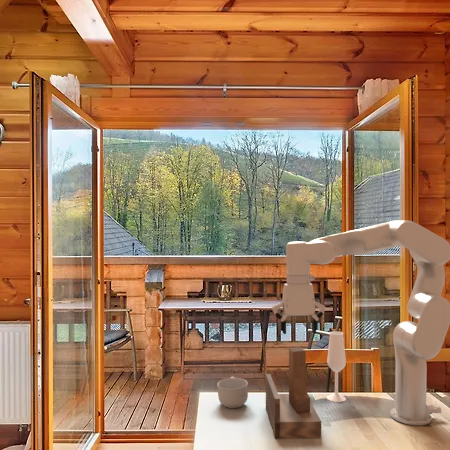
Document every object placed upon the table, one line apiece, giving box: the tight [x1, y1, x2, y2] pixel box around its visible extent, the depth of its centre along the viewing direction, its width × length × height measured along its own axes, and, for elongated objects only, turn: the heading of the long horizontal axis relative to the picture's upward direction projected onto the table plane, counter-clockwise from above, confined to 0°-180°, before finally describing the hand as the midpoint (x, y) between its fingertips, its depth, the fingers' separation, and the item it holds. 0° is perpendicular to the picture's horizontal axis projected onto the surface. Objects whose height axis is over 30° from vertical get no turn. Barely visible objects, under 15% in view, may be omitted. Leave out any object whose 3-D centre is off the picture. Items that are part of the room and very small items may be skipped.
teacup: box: [216, 376, 249, 409], centre depth 164 cm, size 14×11×8 cm
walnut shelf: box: [265, 373, 322, 440], centre depth 149 cm, size 14×22×12 cm, turn 2°
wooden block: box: [288, 347, 311, 412], centre depth 149 cm, size 9×4×18 cm, turn 9°
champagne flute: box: [326, 331, 347, 403], centre depth 168 cm, size 7×7×24 cm
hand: (299, 332), depth 148 cm, fingers open, 9 cm apart
